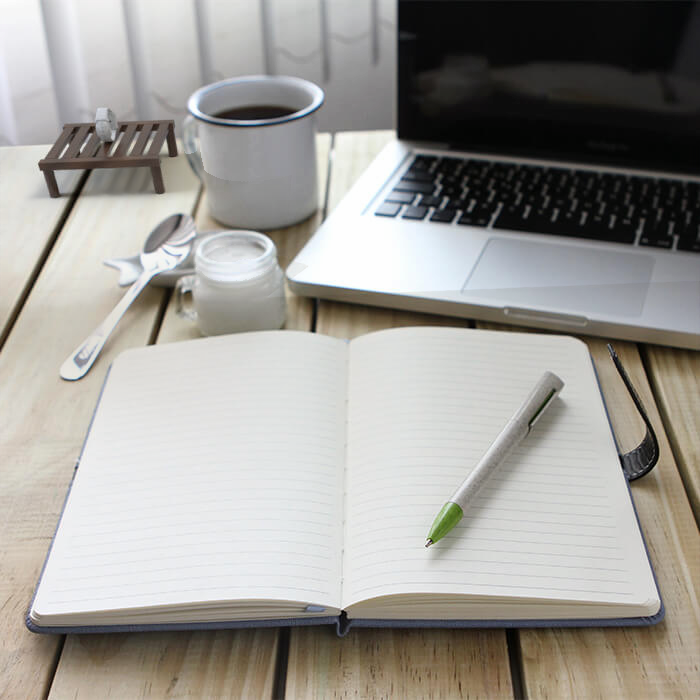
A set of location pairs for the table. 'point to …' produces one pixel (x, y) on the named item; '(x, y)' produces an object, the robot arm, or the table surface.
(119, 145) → the rack
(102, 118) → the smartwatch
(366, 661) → the table surface
